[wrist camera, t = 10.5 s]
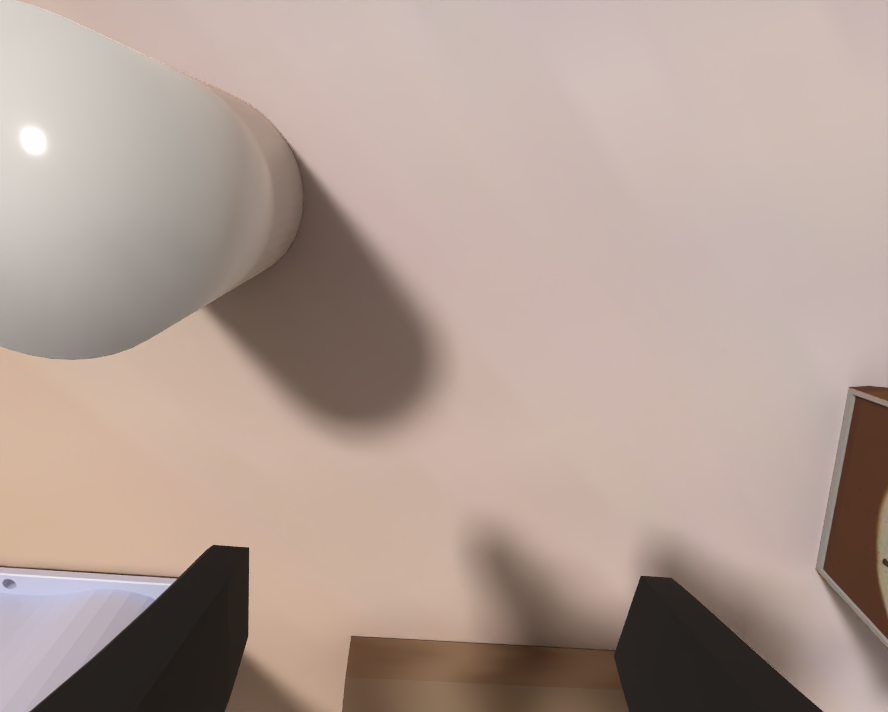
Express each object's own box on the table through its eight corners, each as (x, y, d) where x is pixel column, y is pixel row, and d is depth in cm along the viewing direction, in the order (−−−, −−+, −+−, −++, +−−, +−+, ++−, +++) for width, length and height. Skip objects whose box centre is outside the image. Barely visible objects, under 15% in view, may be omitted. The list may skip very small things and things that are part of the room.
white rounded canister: (121, 269, 17) (-117, 341, 9) (106, 72, 15) (-211, -38, 7) (299, 291, 17) (211, 375, 10) (307, 104, 15) (205, 31, 8)
